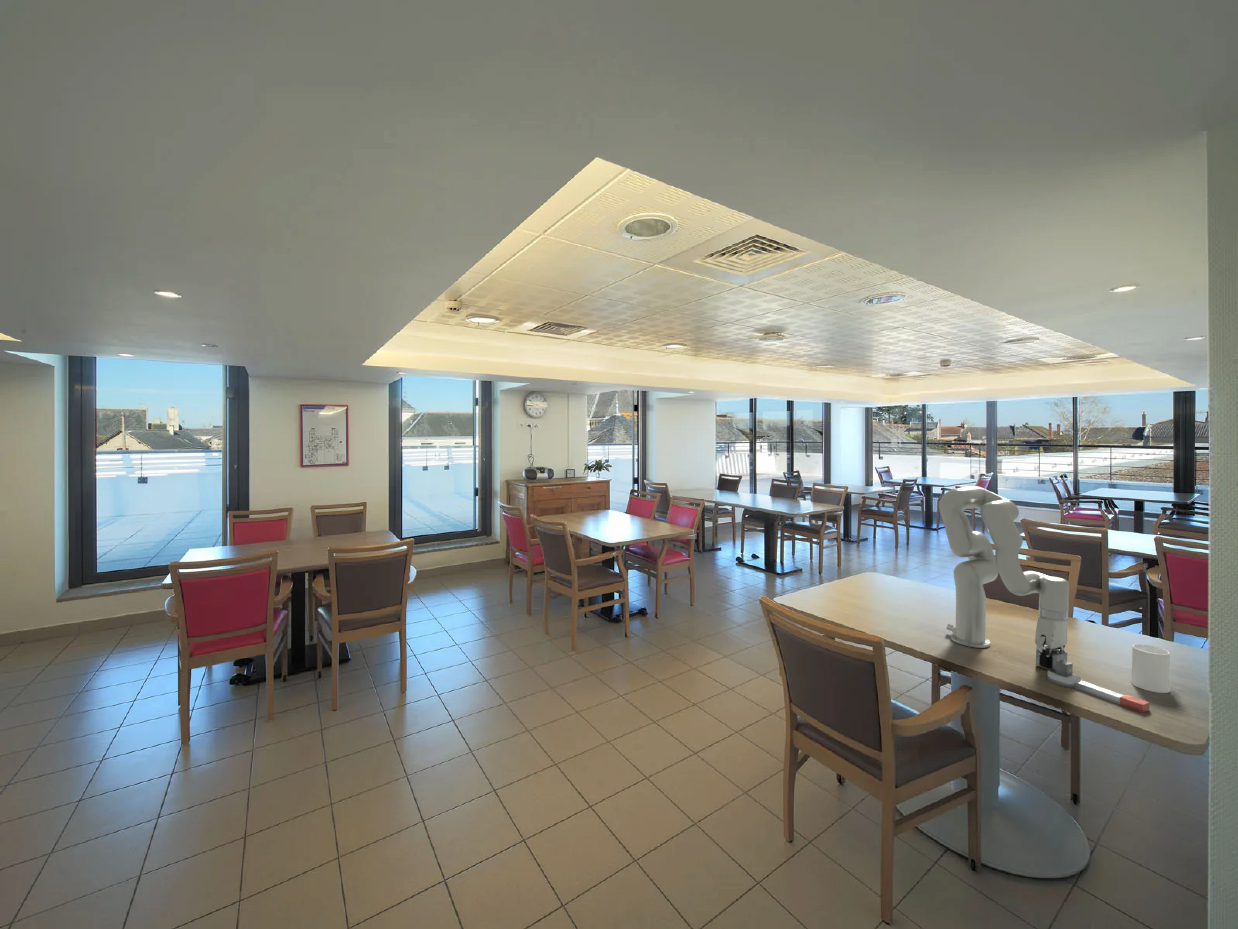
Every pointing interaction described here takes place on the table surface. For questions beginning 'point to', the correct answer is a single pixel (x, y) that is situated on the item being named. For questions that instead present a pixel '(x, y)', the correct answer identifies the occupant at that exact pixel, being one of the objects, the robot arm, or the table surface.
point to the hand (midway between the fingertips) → (1051, 664)
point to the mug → (1150, 668)
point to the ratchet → (1092, 687)
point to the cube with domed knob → (1055, 655)
